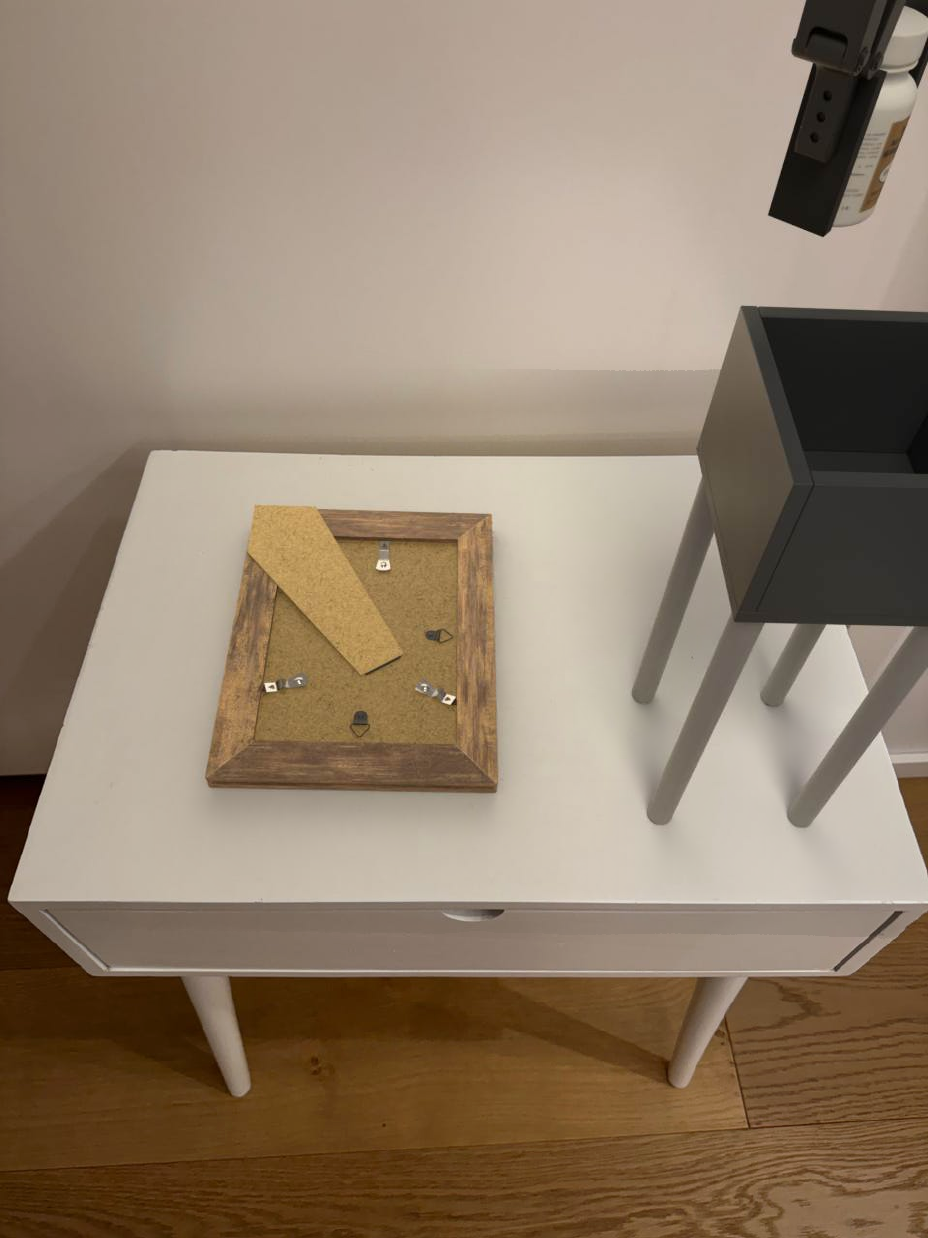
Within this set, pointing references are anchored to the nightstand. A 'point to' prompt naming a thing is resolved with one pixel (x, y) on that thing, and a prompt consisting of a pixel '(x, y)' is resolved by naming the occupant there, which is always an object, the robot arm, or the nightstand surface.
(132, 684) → the nightstand surface
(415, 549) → the picture frame
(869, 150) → the pill bottle
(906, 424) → the legged open box
